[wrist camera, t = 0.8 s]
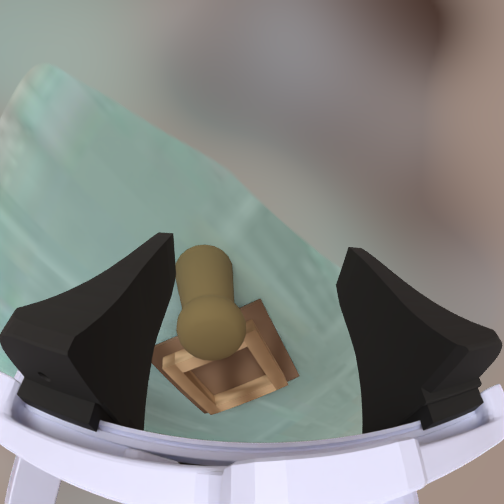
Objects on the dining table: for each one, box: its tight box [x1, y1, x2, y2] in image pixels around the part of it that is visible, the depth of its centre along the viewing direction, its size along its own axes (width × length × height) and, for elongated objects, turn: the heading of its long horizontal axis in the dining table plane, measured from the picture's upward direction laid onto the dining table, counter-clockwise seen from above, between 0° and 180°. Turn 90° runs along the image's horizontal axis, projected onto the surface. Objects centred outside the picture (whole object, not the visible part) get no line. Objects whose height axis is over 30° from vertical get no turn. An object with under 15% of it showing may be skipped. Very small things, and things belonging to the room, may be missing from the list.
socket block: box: [151, 299, 299, 415], centre depth 33 cm, size 16×16×2 cm
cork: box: [176, 245, 246, 361], centre depth 23 cm, size 6×6×11 cm
